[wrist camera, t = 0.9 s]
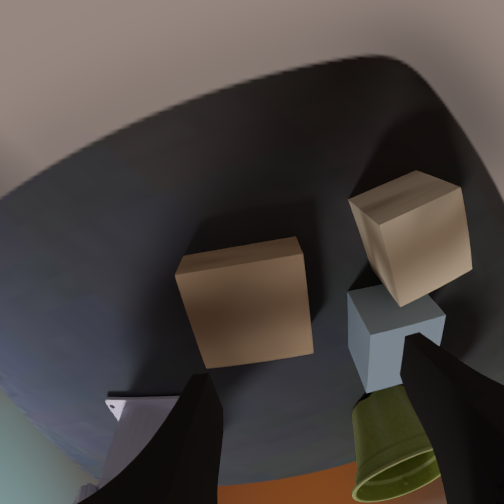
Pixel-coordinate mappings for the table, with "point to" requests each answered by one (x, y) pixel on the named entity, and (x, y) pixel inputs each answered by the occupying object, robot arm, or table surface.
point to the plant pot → (390, 447)
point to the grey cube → (386, 332)
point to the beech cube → (414, 234)
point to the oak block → (247, 302)
